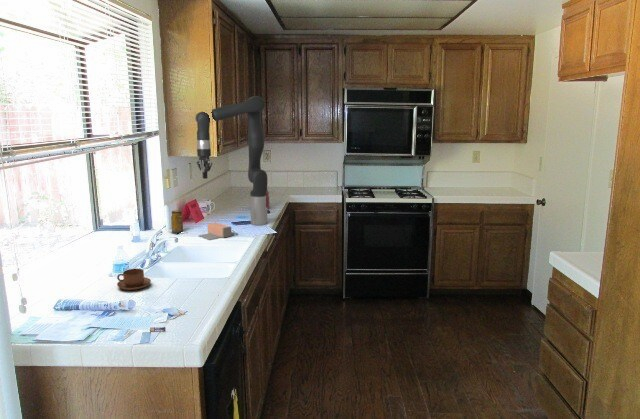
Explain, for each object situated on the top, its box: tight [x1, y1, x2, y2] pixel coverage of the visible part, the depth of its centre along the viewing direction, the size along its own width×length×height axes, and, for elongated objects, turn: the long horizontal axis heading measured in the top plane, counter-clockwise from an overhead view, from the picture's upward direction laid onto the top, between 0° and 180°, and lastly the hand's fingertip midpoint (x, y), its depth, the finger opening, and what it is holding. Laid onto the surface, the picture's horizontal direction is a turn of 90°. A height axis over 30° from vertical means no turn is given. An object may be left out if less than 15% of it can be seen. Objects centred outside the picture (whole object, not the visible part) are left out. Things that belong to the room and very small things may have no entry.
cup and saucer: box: [116, 268, 152, 291], centre depth 184 cm, size 12×12×6 cm
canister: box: [251, 187, 270, 210], centre depth 337 cm, size 13×13×18 cm
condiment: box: [169, 209, 188, 235], centre depth 268 cm, size 7×8×12 cm
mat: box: [197, 231, 238, 241], centre depth 263 cm, size 18×11×1 cm, turn 136°
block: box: [207, 222, 232, 238], centre depth 263 cm, size 5×5×15 cm
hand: (205, 178), depth 276 cm, fingers closed
